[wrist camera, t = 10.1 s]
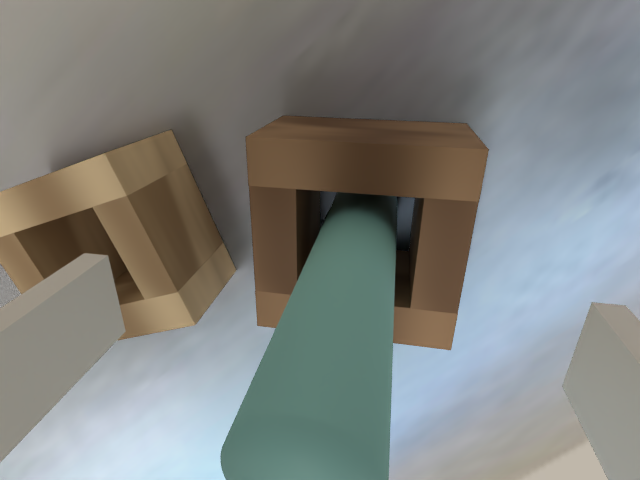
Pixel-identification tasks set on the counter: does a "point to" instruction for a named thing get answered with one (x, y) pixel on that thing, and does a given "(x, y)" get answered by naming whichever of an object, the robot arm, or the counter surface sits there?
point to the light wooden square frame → (122, 232)
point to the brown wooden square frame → (377, 179)
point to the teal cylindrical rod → (327, 359)
